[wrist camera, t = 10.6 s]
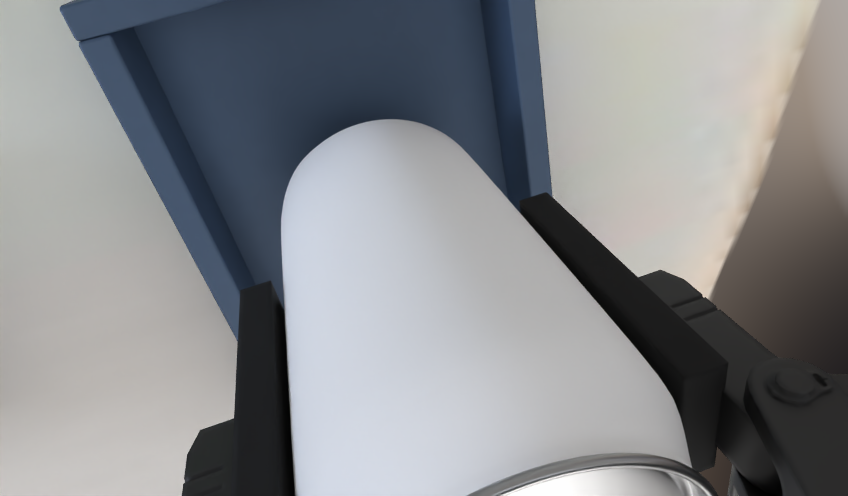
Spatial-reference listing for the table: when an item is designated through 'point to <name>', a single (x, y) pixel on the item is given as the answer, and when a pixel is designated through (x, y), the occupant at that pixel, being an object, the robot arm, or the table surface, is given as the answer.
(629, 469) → the can
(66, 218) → the table surface
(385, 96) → the blue tray
